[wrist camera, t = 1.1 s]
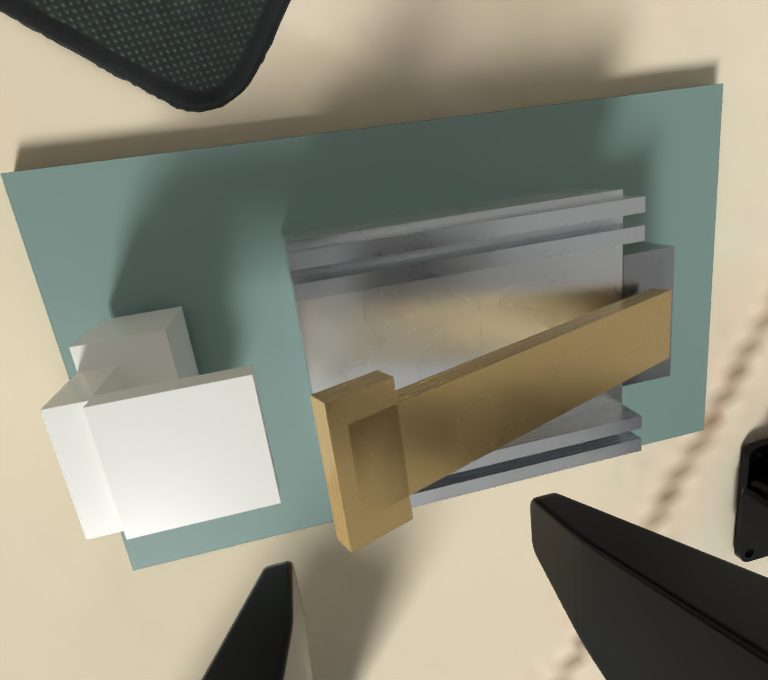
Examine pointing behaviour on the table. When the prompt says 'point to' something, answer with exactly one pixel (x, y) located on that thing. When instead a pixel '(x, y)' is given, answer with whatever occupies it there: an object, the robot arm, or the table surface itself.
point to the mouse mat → (163, 42)
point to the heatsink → (477, 306)
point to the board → (347, 203)
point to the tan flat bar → (471, 409)
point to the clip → (157, 431)
